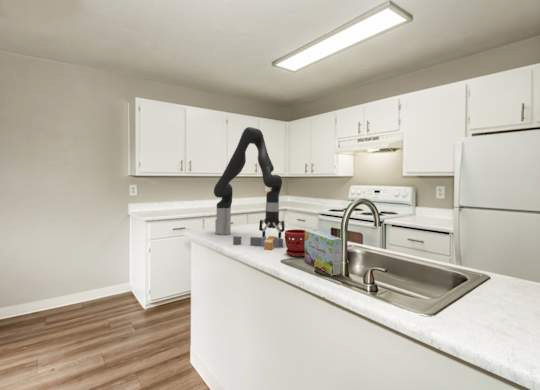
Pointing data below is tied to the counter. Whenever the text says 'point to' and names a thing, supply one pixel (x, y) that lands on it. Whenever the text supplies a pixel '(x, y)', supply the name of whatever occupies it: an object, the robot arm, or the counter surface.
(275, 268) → the counter surface
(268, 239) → the banded orange pillar
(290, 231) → the plant pot
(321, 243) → the snack box
